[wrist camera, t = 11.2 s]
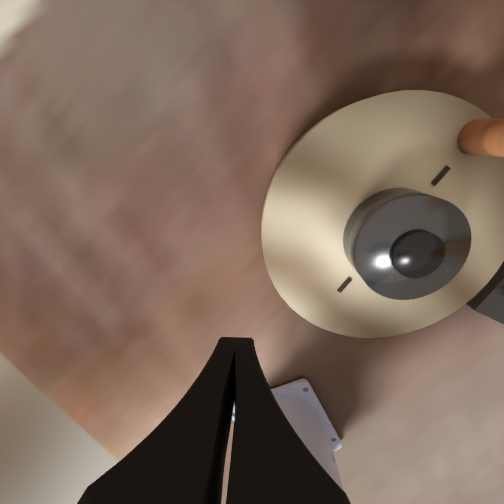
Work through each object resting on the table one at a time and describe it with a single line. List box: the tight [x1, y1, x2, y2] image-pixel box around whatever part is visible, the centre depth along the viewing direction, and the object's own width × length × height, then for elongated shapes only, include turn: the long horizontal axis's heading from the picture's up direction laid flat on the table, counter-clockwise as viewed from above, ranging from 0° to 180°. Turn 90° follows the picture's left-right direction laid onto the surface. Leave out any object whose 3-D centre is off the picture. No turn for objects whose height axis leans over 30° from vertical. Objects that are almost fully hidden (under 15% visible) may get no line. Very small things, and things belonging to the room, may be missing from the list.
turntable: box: [261, 90, 504, 338], centre depth 17 cm, size 16×16×6 cm
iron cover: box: [343, 188, 472, 300], centre depth 17 cm, size 6×6×3 cm
